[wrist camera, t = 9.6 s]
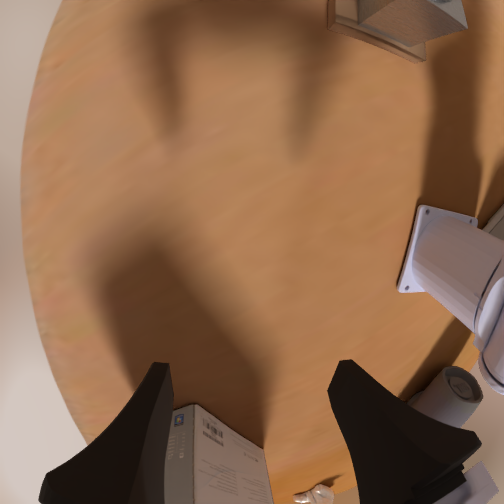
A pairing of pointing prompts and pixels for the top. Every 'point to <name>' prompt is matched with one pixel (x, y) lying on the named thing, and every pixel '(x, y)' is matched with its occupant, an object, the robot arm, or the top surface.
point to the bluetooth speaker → (449, 397)
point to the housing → (412, 19)
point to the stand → (367, 31)
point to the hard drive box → (212, 463)
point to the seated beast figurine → (316, 495)
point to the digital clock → (496, 224)
